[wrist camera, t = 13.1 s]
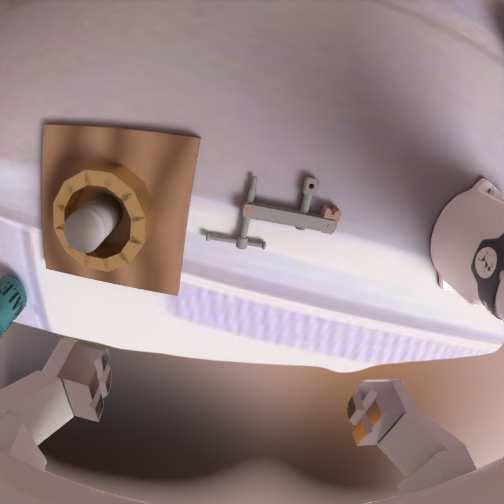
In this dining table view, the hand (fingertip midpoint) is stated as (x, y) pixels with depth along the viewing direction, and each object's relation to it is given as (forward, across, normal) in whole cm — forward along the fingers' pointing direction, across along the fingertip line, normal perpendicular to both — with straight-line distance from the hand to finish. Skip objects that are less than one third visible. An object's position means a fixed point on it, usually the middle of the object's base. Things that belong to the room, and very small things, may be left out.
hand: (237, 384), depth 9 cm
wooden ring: (+28, +15, +6) cm, 32 cm away
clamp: (+30, -5, +3) cm, 30 cm away
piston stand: (+29, +15, +6) cm, 33 cm away
